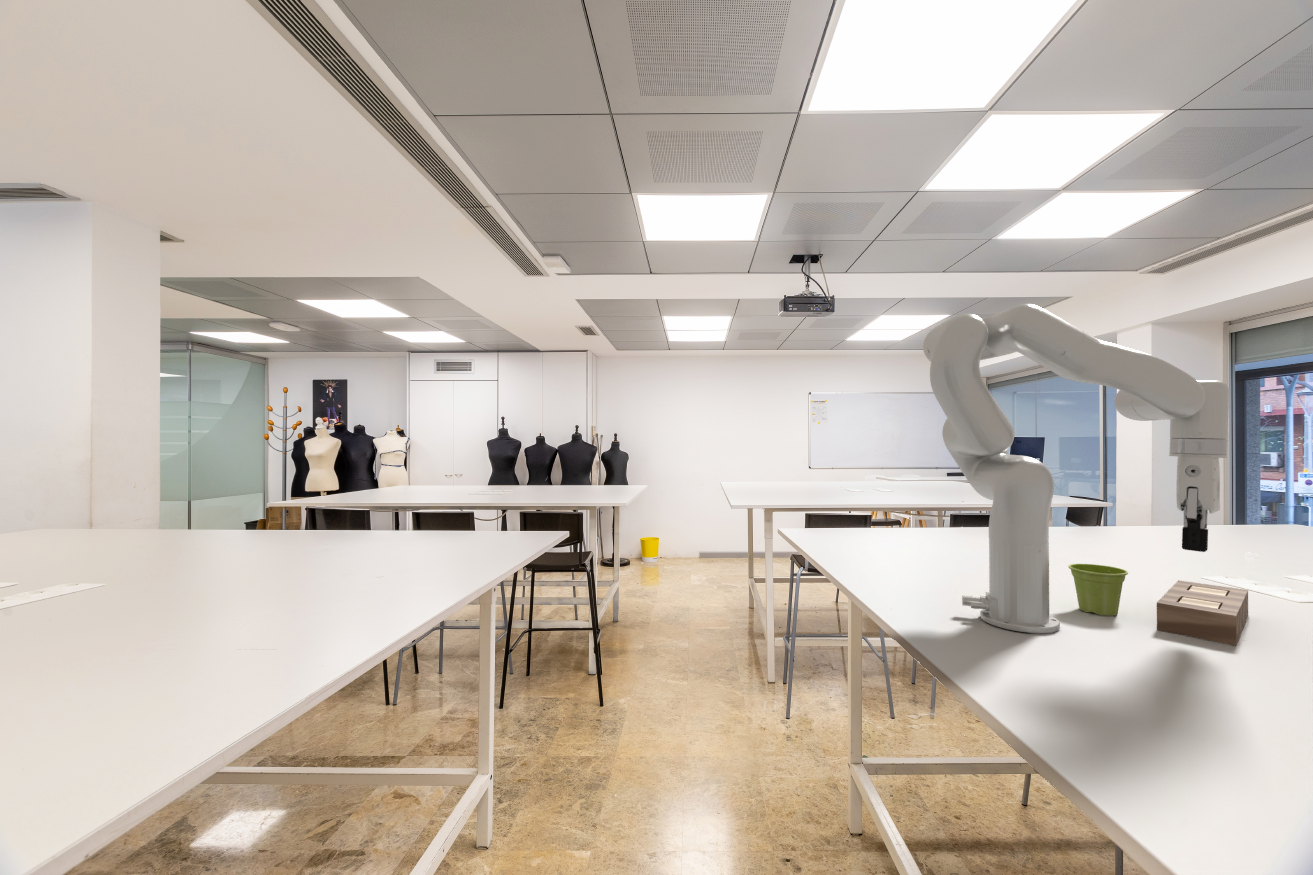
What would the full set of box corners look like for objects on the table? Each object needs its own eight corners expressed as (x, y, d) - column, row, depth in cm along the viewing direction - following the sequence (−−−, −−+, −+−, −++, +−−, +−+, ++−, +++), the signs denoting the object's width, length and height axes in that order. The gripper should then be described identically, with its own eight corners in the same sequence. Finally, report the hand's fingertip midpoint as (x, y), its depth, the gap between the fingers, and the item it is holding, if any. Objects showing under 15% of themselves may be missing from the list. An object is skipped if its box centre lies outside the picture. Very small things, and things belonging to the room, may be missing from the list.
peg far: (1225, 621, 105) (1224, 595, 105) (1188, 614, 109) (1188, 590, 109) (1228, 615, 108) (1227, 590, 108) (1192, 609, 112) (1192, 585, 112)
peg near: (1217, 636, 97) (1217, 608, 97) (1178, 628, 101) (1178, 602, 101) (1221, 629, 101) (1220, 603, 101) (1183, 622, 104) (1182, 597, 104)
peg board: (1236, 645, 93) (1236, 615, 93) (1156, 630, 101) (1156, 602, 101) (1248, 615, 109) (1248, 589, 109) (1178, 604, 116) (1178, 580, 116)
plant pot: (1058, 603, 117) (1058, 562, 117) (1108, 605, 116) (1107, 563, 116) (1086, 618, 108) (1086, 573, 108) (1140, 619, 107) (1140, 574, 107)
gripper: (1222, 449, 93) (1219, 559, 93) (1231, 450, 103) (1228, 549, 103) (1162, 448, 99) (1159, 551, 99) (1176, 448, 109) (1173, 542, 109)
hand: (1194, 549), depth 101 cm, fingers closed
